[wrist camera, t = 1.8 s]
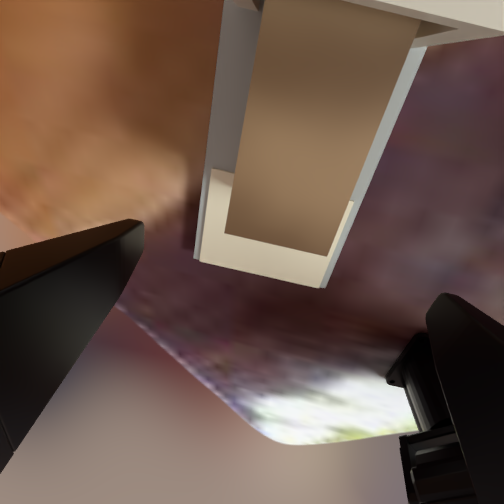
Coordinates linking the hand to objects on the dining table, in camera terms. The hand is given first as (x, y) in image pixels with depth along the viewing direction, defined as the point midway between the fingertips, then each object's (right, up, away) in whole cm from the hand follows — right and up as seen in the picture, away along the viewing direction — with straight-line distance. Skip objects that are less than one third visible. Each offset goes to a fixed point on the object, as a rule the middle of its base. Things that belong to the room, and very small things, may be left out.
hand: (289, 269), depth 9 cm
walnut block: (+2, +9, +6) cm, 12 cm away
